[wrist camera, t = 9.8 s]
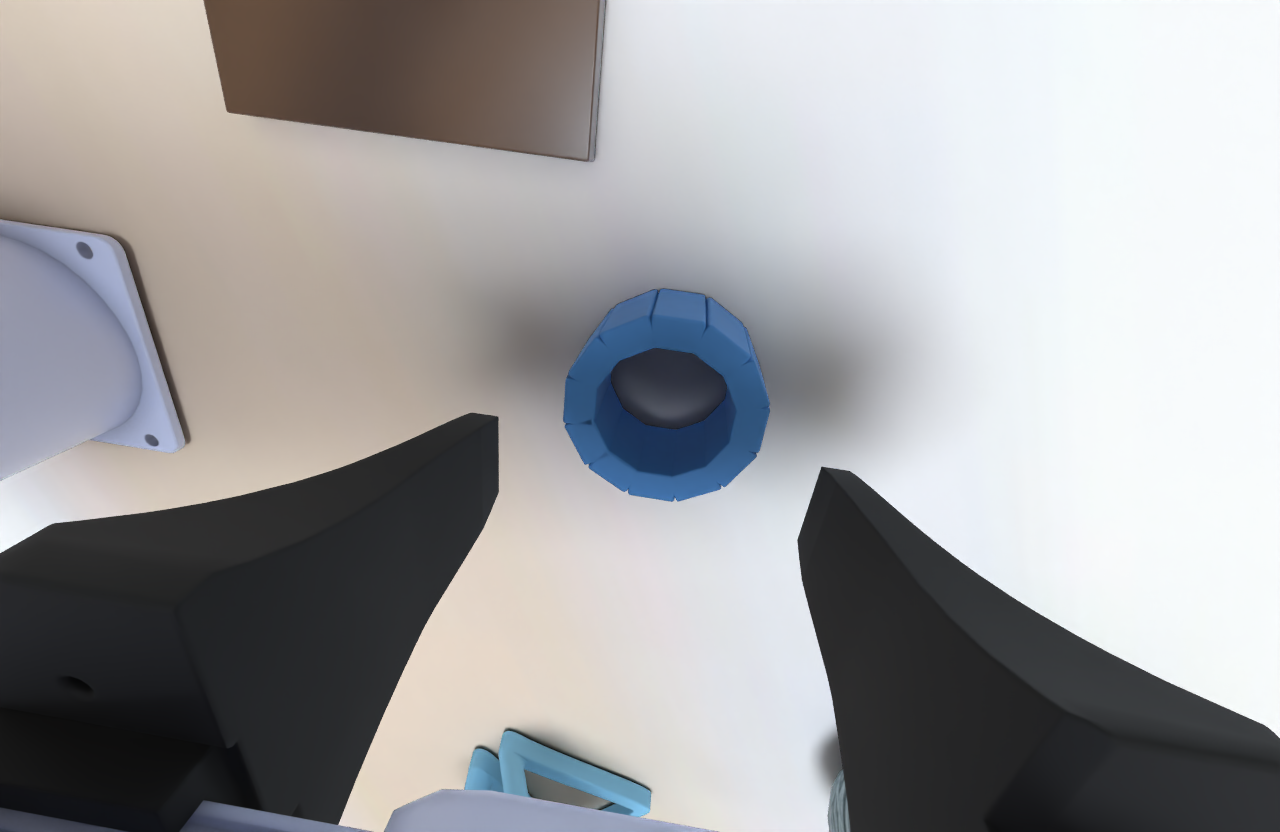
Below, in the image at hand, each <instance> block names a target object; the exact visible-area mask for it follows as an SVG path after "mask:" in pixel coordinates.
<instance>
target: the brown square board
mask: <svg viewBox="0 0 1280 832" xmlns="http://www.w3.org/2000/svg"><path fill="white" fill-rule="evenodd" d="M605 2H606V0H204V5H205V10H206V14H207V19H208V24H209V29H210V34H211V38H212V43H213V48H214V53H215V58H216V62H217V67H218V72H219V77H220V81H221V86H222V91H223V96H224V101H225V105H226V110H227V112H229V113H234V114H242V115H249V116H256V117H264V118H271V119H278V120H286V121H293V122H300V123H308V124H315V125H322V126H330V127H337V128H344V129H351V130H359V131H366V132H373V133H381V134H388V135H395V136H403V137H410V138H417V139H425V140H432V141H439V142H447V143H454V144H461V145H469V146H476V147H483V148H491V149H498V150H505V151H512V152H520V153H527V154H534V155H542V156H549V157H556V158H564V159H571V160H578V161H586V162H591V161H594V155H595V141H596V127H597V113H598V100H599V86H600V72H601V58H602V44H603V30H604V16H605Z"/></svg>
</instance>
